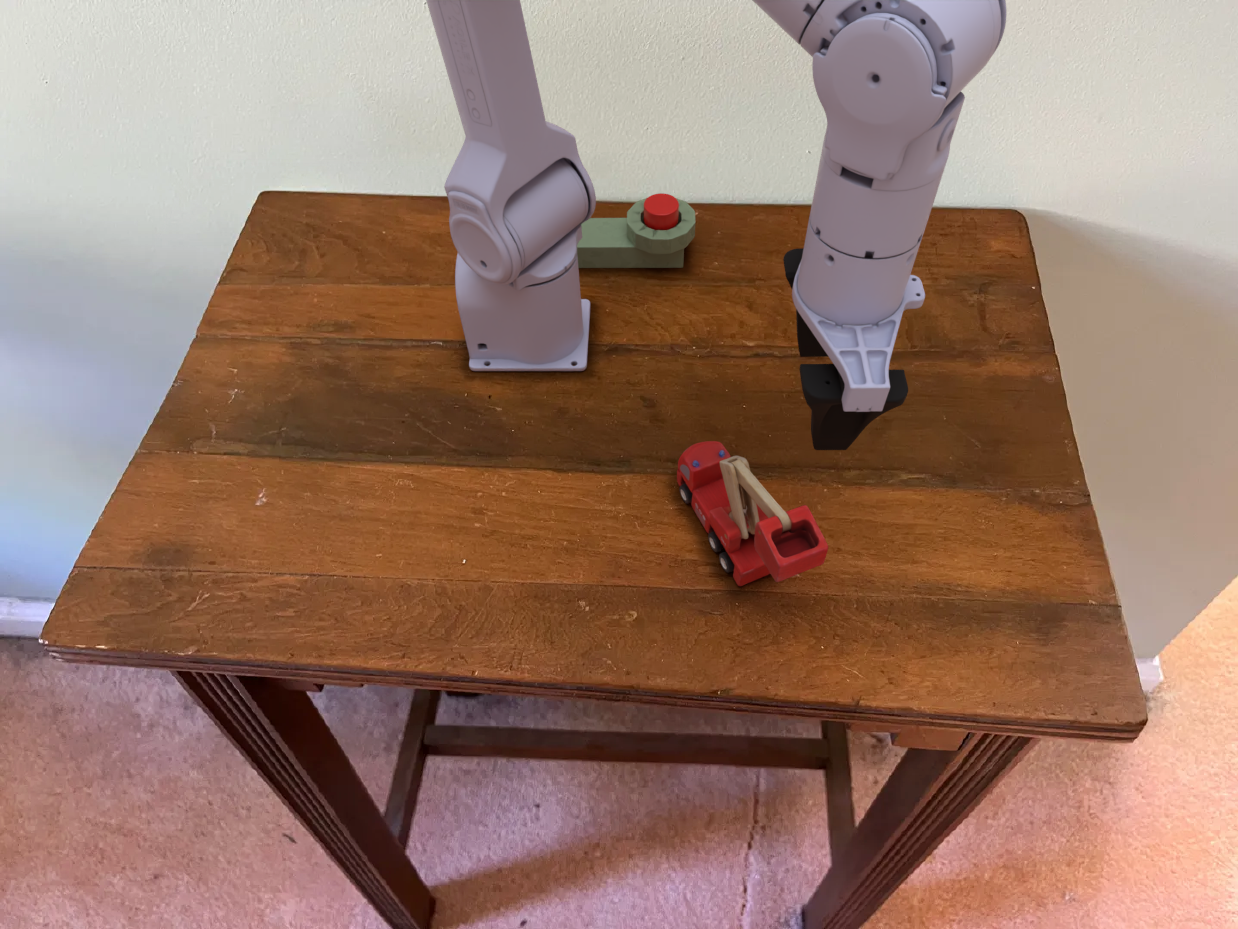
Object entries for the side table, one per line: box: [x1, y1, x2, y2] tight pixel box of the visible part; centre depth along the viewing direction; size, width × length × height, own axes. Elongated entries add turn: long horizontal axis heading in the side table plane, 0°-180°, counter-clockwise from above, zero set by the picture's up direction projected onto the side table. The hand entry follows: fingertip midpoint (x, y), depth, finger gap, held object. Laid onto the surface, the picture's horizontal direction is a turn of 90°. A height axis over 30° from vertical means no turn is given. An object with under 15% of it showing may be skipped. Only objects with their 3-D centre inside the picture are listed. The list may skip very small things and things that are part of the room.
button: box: [644, 192, 679, 230], centre depth 74 cm, size 3×3×2 cm
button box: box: [577, 197, 696, 269], centre depth 76 cm, size 11×6×4 cm, turn 89°
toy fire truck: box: [676, 440, 829, 587], centre depth 56 cm, size 3×14×10 cm, turn 23°
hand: (822, 397), depth 55 cm, fingers open, 7 cm apart
